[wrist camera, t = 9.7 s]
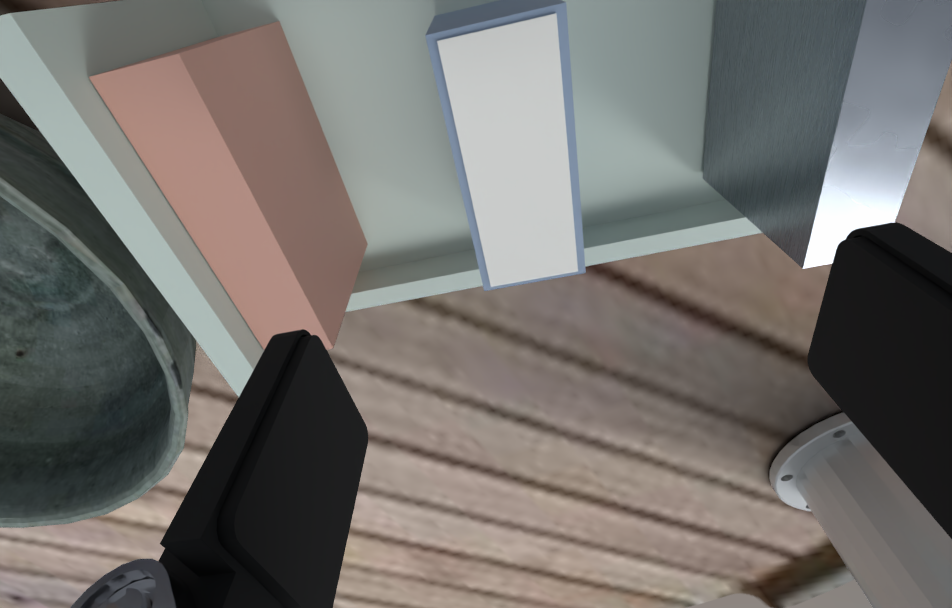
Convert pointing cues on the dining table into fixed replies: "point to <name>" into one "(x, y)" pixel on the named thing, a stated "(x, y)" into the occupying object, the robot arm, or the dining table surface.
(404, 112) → the mint u-shaped tray
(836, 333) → the robot arm
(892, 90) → the bookend
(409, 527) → the dining table surface
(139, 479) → the bowl
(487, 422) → the dining table surface
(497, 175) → the book
